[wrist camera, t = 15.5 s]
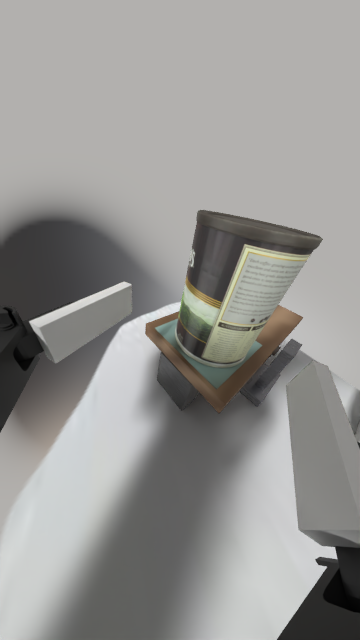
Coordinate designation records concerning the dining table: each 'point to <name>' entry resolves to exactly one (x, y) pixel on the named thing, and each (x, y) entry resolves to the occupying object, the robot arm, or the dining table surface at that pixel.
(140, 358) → the dining table surface
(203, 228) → the coffee can
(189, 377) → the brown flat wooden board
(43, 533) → the dining table surface
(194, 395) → the pivot stand
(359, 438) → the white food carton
